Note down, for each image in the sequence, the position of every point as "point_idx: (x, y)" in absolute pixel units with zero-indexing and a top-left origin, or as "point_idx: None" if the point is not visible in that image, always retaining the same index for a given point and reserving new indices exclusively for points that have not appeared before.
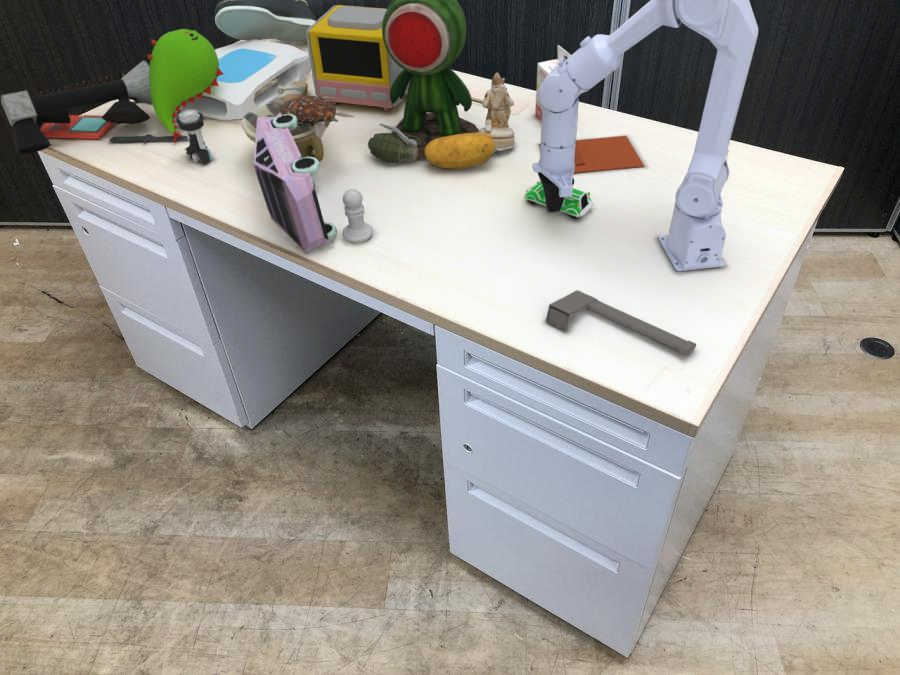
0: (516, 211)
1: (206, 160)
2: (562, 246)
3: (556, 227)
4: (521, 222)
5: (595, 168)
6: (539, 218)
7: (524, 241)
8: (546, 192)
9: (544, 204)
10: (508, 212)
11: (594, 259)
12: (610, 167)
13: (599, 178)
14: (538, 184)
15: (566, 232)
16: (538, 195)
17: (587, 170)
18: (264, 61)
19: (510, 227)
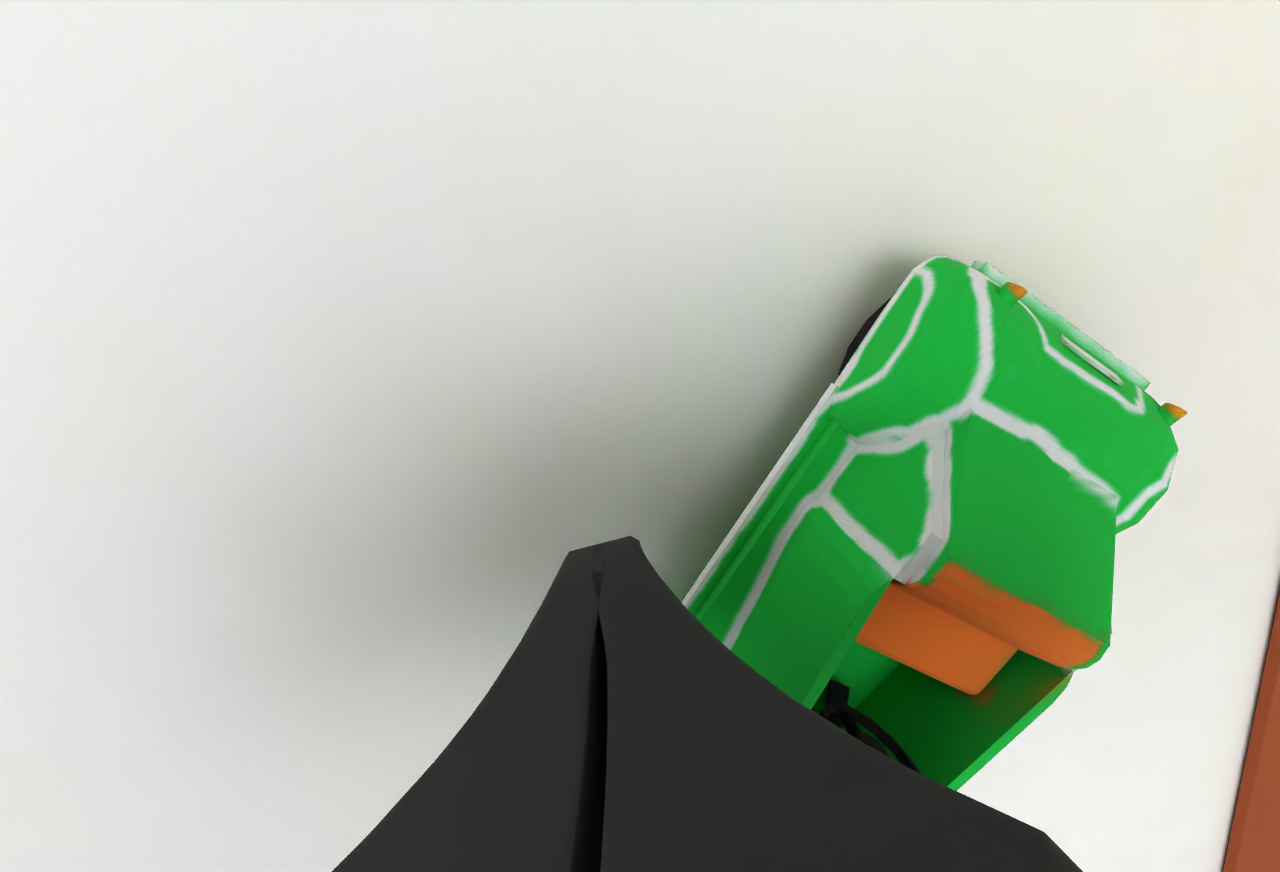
0: (726, 159)
1: None
2: (152, 644)
3: (460, 580)
4: (501, 229)
5: (1273, 794)
6: (598, 422)
7: (109, 278)
8: (337, 869)
9: (765, 488)
10: (704, 49)
11: (48, 863)
12: (1250, 869)
13: (1145, 811)
14: (1110, 437)
15: (393, 660)
16: (892, 438)
17: (1267, 750)
18: None
19: (370, 85)
